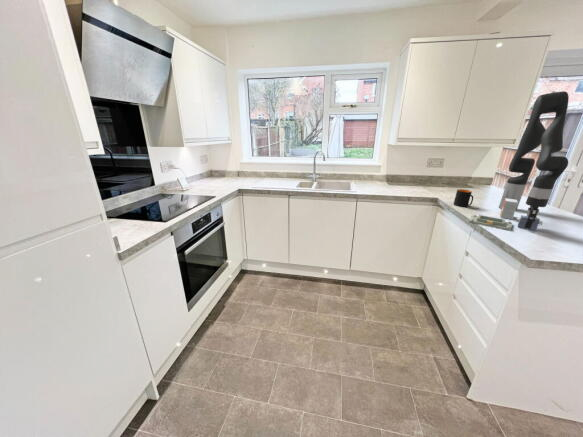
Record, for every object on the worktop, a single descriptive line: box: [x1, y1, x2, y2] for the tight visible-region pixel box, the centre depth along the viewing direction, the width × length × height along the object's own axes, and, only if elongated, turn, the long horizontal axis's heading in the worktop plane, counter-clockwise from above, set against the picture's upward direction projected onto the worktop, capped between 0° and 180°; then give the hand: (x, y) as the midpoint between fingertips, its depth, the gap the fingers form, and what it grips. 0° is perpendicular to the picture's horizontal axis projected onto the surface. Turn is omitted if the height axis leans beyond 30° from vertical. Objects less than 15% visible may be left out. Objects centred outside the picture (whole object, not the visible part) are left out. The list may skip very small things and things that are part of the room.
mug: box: [453, 189, 474, 208], centre depth 159 cm, size 8×12×10 cm
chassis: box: [468, 214, 513, 231], centre depth 130 cm, size 12×18×3 cm, turn 47°
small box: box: [499, 198, 519, 220], centre depth 139 cm, size 8×6×10 cm
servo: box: [516, 215, 543, 232], centre depth 123 cm, size 4×10×7 cm, turn 47°
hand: (527, 225), depth 123 cm, fingers open, 8 cm apart
